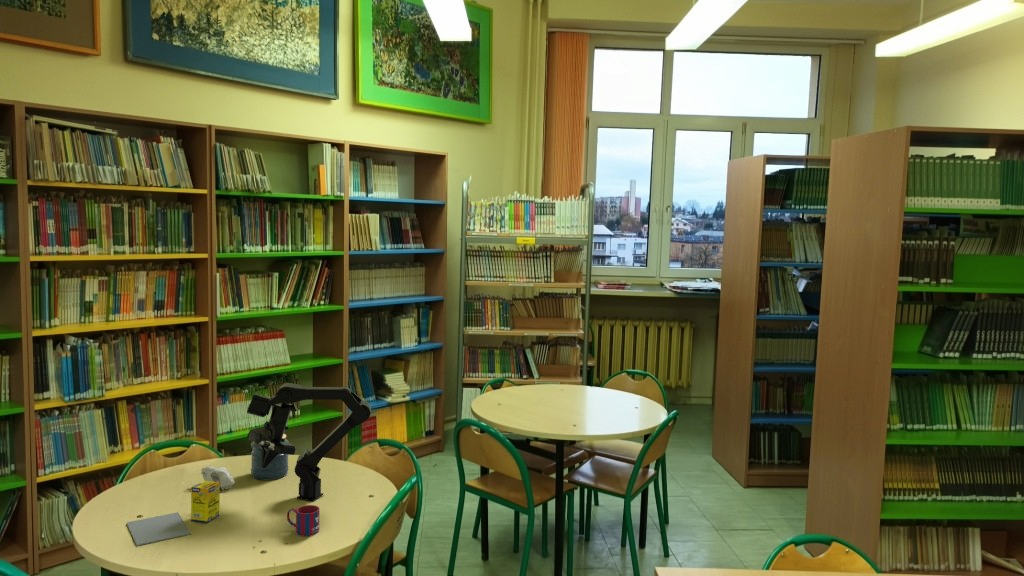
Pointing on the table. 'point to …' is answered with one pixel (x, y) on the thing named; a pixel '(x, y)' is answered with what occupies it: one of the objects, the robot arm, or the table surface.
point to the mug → (306, 520)
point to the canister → (274, 468)
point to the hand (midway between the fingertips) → (263, 467)
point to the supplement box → (205, 501)
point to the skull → (218, 476)
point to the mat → (158, 528)
